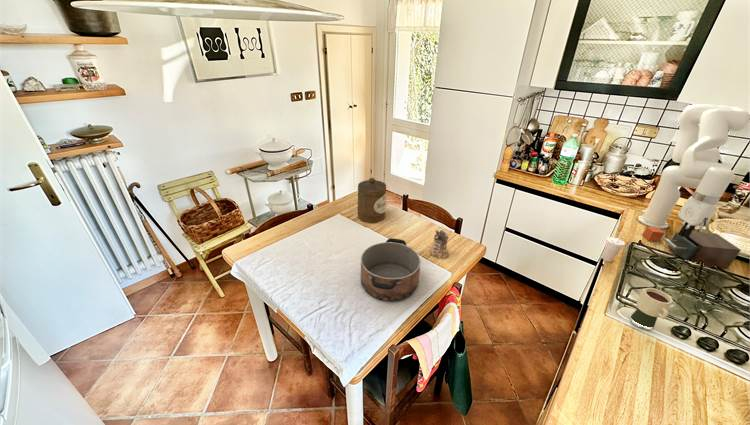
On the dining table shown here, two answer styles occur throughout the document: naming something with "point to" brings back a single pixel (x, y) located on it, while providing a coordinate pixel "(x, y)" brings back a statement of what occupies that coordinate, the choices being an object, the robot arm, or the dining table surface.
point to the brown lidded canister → (371, 200)
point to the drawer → (682, 246)
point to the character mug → (651, 306)
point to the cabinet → (713, 249)
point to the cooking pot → (390, 270)
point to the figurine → (439, 245)
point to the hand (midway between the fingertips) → (683, 235)
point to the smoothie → (612, 248)
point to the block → (653, 233)
